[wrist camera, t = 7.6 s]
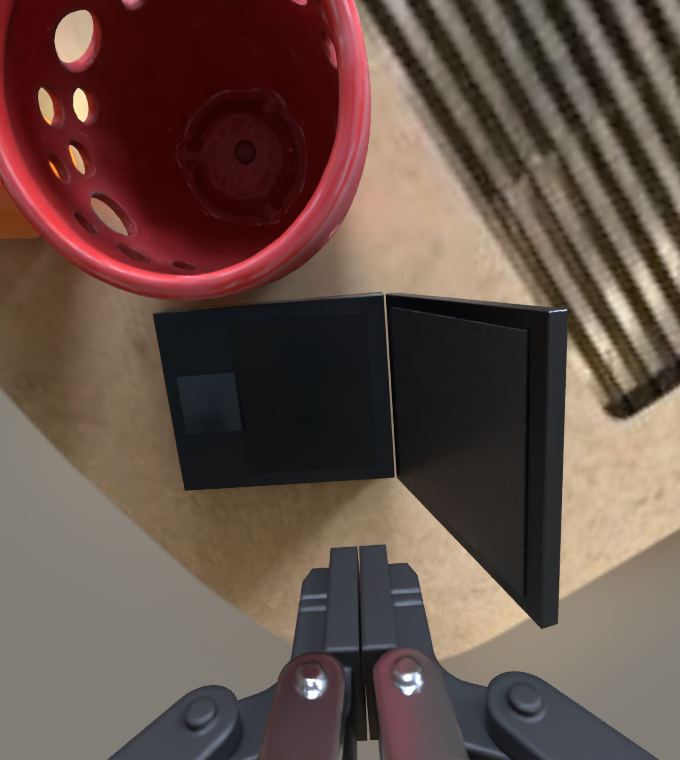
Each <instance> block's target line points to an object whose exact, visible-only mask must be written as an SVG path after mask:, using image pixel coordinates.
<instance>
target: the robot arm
mask: <svg viewBox="0 0 680 760" xmlns="http://www.w3.org/2000/svg"><path fill="white" fill-rule="evenodd" d="M359 554H360V572H359V560H358V549H357V546H356V547H340V548H331V551H330V564H329V568H315V569H312V570H311V571H310V572H309V574H308V575H307V577H306V578H305V579H304V581H303V582H302V589H301V596H300V602H299V609H298V610H299V612H298V615H297V622H296V629H295V635H294V642H293V649H292V655H291V660H290V661H289V662H288V663H287V664H286V665H285V666H284V668H283V669H282V671H281V672H280V675H279V677H278V681H277V683H275V684H274V685H273V686H271V687H270V688H268V689H266V690H265V691H262V692H260V693H258V694H255V695H252V696H249V697H246V698H243V699H241V700H238V701H237V698H236V696H235V695H234V693H232V691H231V690H229V689H227V688H226V687H222V686H218V685H210V686H204V687H200V688H198V689H195V690H193V691H191V692H189V693H187V694H186V695H185V696H183V697H182V698H181V699H179V700H178V701H177V702H176V703H175V704H173V705H172V706H171V707H170V708H169V709H168V710H166V711H165V712H164V713H163V714H161V715H160V716H159V717H158V718H157V719H156V720H154V721H153V722H152V723H151V724H150V725H148V726H147V727H146V728H145V729H144V730H143V731H141V732H140V733H139V734H138V735H136V736H135V737H134V738H133V739H132V740H130V741H129V742H128V743H127V744H126V745H124V746H123V747H122V748H121V749H120V750H119V751H117V752H116V753H115V754H114V755H113V756H111V757H110V758H109V759H108V760H357V741H367V721H366V697H367V708H368V718H369V719H368V720H369V731H370V740H379V753H380V760H659V759H657V758H656V757H654V756H653V755H651V754H650V753H649V752H647V751H646V750H644V749H643V748H641V747H640V746H638V745H637V744H635V743H634V742H633V741H631V740H630V739H628V738H627V737H625V736H624V735H623V734H621V733H620V732H618V731H617V730H615V729H614V728H612V727H611V726H609V725H608V724H607V723H605V722H604V721H602V720H601V719H599V718H598V717H596V716H595V715H594V714H592V713H591V712H589V711H588V710H586V709H585V708H583V707H582V706H580V705H579V704H578V703H576V702H575V701H573V700H572V699H570V698H569V697H567V696H566V695H564V694H563V693H561V692H560V691H559V690H557V689H556V688H554V687H553V686H551V685H550V684H548V683H547V682H545V681H544V680H542V679H541V678H539V677H537V676H534V675H531V674H528V673H524V672H517V671H515V672H514V671H513V672H506V673H502V674H500V675H498V676H496V677H495V678H493V679H492V680H491V682H490V683H489V685H488V687H485V686H481V685H477V684H473V683H469V682H465V681H462V680H460V679H458V678H456V677H454V676H453V675H451V674H450V673H448V672H447V671H446V670H445V669H444V668H443V667H442V666H441V665H440V664H439V662H438V661H437V659H436V657H435V654H434V651H433V646H432V641H431V636H430V632H429V627H428V622H427V618H426V613H425V608H424V605H423V599H422V594H421V589H420V585H419V580H418V575H417V574H416V573H415V572H414V571H413V569H412V568H411V567H410V566H409V565H408V564H407V563H397V564H388V560H387V552H386V545H370V546H359ZM365 686H366V691H365Z"/></svg>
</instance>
